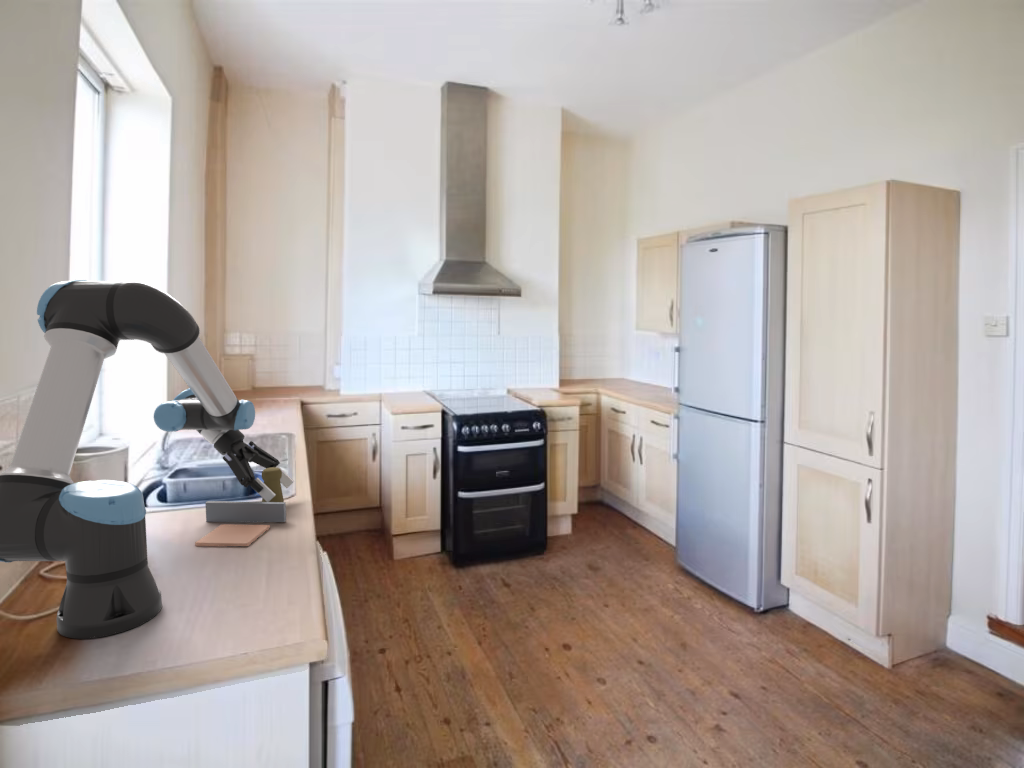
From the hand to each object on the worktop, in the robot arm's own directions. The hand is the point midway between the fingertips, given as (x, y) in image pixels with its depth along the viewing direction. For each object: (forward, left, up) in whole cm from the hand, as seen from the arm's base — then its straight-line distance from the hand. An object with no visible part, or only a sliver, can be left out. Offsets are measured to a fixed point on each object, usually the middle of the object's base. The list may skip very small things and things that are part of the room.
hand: (281, 491), depth 163 cm
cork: (0, +3, -5) cm, 5 cm away
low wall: (-12, +5, -4) cm, 13 cm away
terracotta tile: (-22, +3, -4) cm, 23 cm away
